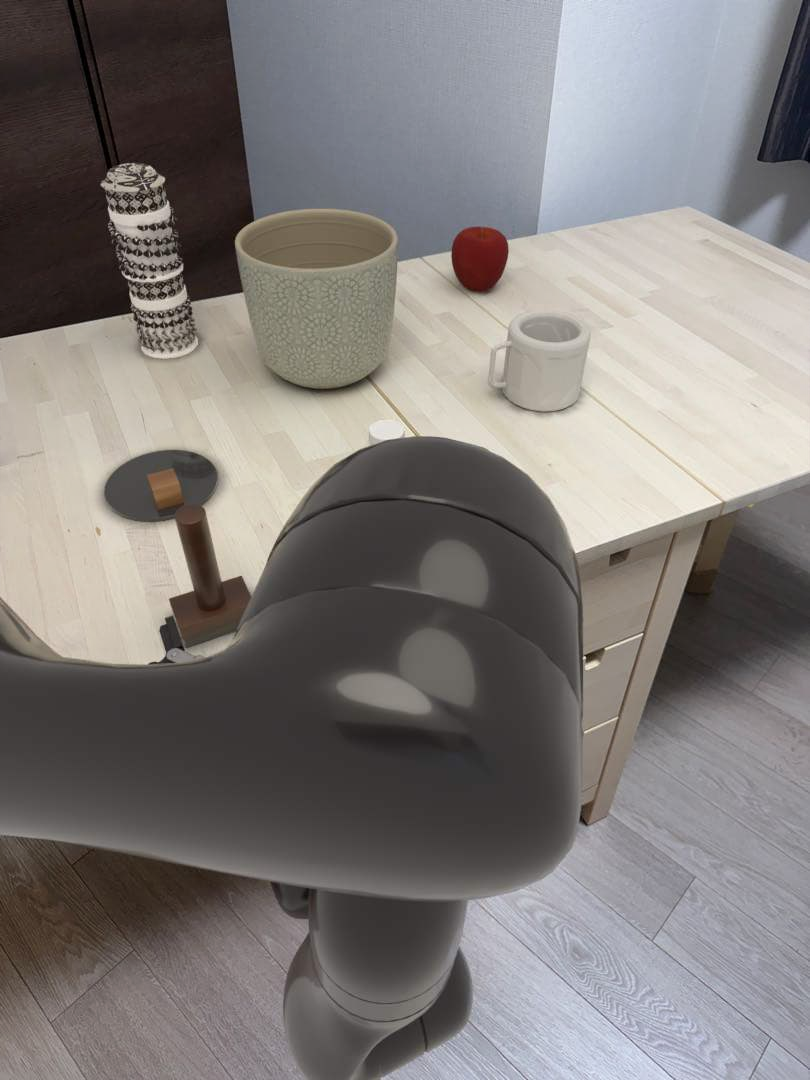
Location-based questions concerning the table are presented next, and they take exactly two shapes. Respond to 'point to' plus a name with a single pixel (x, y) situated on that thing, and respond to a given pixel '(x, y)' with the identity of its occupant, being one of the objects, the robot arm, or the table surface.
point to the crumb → (165, 489)
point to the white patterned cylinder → (150, 259)
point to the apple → (479, 257)
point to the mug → (543, 360)
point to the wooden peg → (205, 584)
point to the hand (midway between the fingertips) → (220, 606)
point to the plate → (132, 488)
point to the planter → (319, 293)
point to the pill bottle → (385, 431)
